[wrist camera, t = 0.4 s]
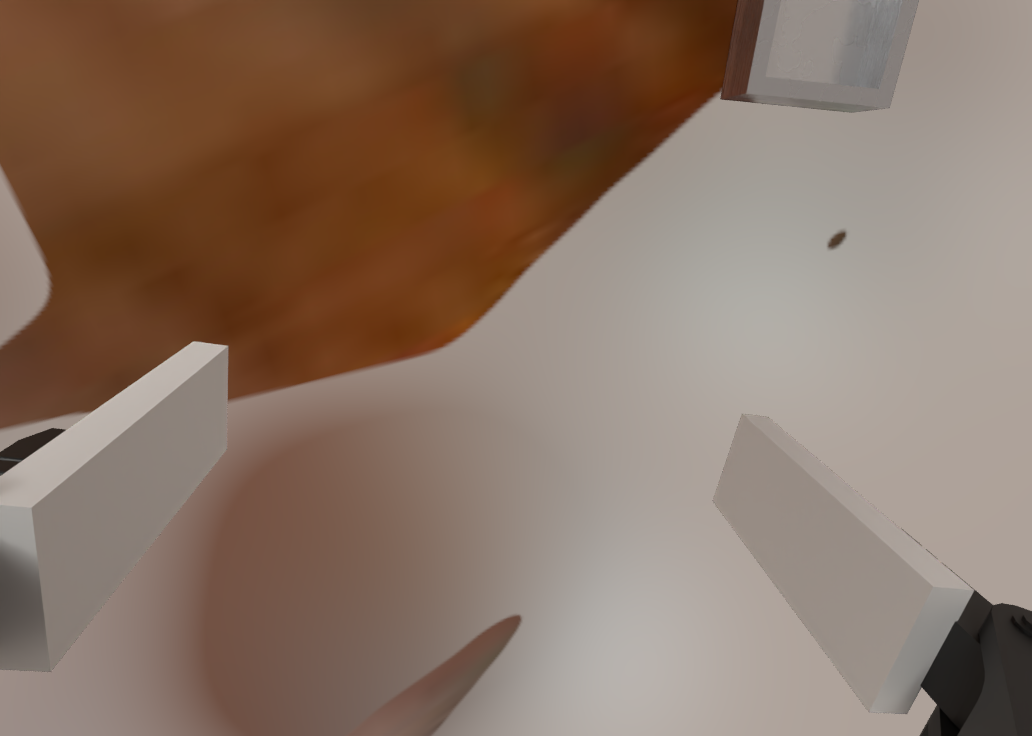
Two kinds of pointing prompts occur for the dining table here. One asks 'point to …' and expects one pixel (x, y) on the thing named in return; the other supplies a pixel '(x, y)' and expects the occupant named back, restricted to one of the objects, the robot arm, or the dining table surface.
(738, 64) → the gray tray
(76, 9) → the dining table surface
